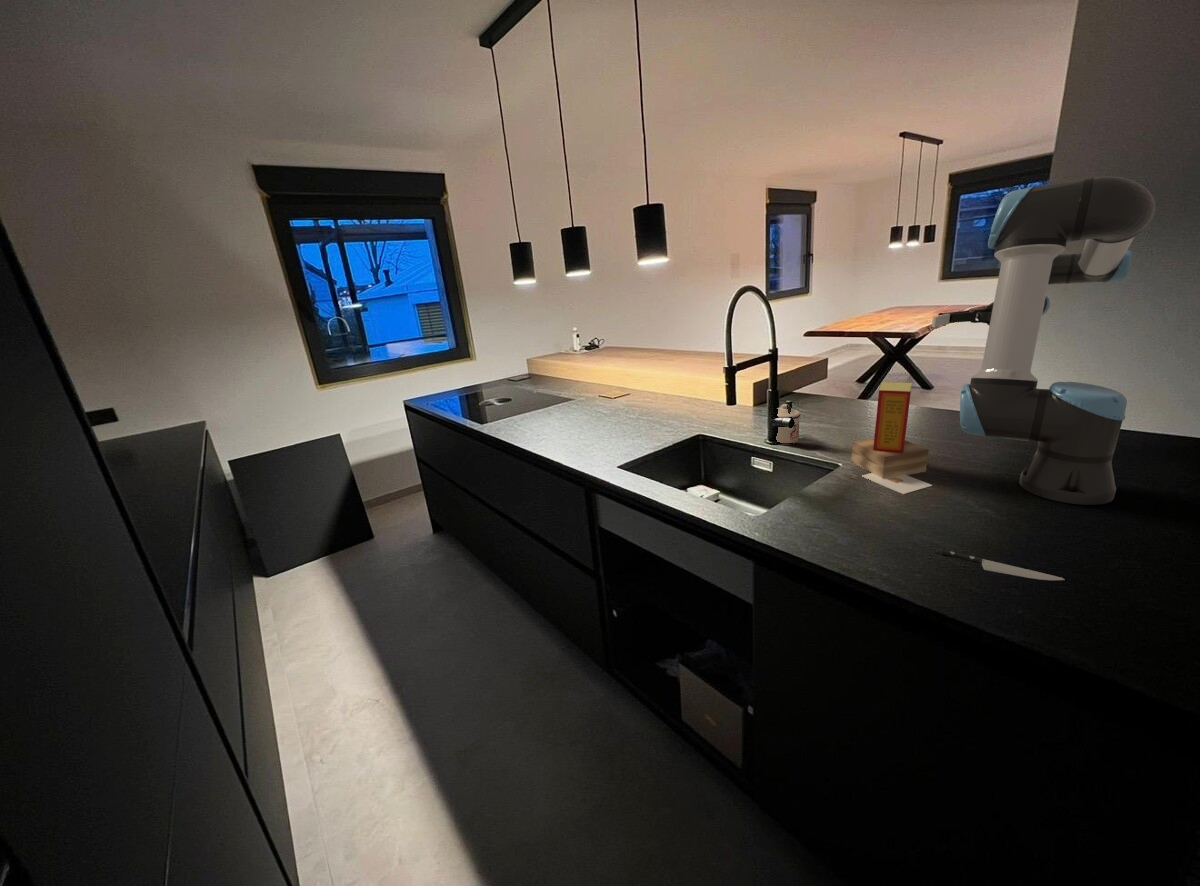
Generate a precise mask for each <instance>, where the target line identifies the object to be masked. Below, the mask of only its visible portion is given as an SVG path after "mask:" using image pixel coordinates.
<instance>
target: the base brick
mask: <svg viewBox="0 0 1200 886" xmlns="http://www.w3.org/2000/svg"><path fill="white" fill-rule="evenodd" d="M873 447H874V437H873V438H868V439H862V440H855V441H852V445H851V459H850V463H851V462H853V463H854V465H855V464H856V465H855V466H857V465H858V466H857V467H859V466H860V467H859V468H861V467H862V468H861V469H862V470H864V469H865V470H864V471H866V470H867V471H866V472H868V471H869V472H868V473H870V472H871V473H873V474H875V475H877V476H879V477H881V478H888V477H894V476H900V475H907V476H911V475H915V474H920V473H921V472H922V473H926V472H927V466H928V458H929V453H930V452H929V451H930V450H929V449H927V448H925V447H923V446H920V445H918V444H915V443H913V442H911V441H908V440H906V439H905V444H904V452H903V453H896V452H886V451H876V450H873ZM853 463H852V464H853ZM922 473H921V474H922Z"/></svg>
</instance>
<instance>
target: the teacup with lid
mask: <svg viewBox="0 0 1200 886" xmlns="http://www.w3.org/2000/svg"><path fill="white" fill-rule="evenodd" d="M787 405H788V404H786V403H784V404H781V405H780V407H777V409H778V414H777V416H778V417H779V418H789V417H792V418H793V420H794V422H795V424H794V426H793V427H792V428H789V427H778V433H777V436H776V440H777V442H780V443H792V442H796V441H797V442H799V438H800V436H799V435H800V417H801V412H800V411H799V410H796V409H793V408H791V407H790V408H791V412H790V414H789V413H788V409H787ZM797 442H796V443H797Z"/></svg>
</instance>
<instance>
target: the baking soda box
mask: <svg viewBox="0 0 1200 886" xmlns="http://www.w3.org/2000/svg"><path fill="white" fill-rule="evenodd" d="M912 386H913V382H910V381H909V382H903V381H900V382H899V381H881V384H880V387H879V389H878V395H877V408H876V417H875V418H876V419H875V428H874V437H873V438H874V447H873V450H876V451H886V452H896V453H903V452H904V444H905V440H906V435H907V426H908V417H909V410H910V402H911V395H912Z"/></svg>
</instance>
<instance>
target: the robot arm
mask: <svg viewBox="0 0 1200 886" xmlns="http://www.w3.org/2000/svg"><path fill="white" fill-rule="evenodd" d="M998 205H999V206H998V208H997V211H996V212H995V215H994V216H995V217H994V219H993V222H992V225H991V229H990V234H989V236H988V237H989V238H988V242H987V247H988V248H989V249H991V250H994V256H993V257H995V259H996V260H998V262H1000V268H999V273H998V278H997V285H996V289H995V295H994V300H993V302H991V303H990V304H988V305H987V306H986V307H985V308H981V309H968V310H967V309H966V310H959V311H949V312H939V313H938V314H937V315H936V316H933V317H932V321H931V328H938V327H941V326H943V327H946V325H949V324H951V323H952V324H954V323H966V322H968V323H969V322H970V323H971V324H975V323H976V324H980V323H982V324H986V325H987V326H988V331H987V337H986V341H985V347H984V353H983V358H982V364H981V368H980V370H979V371H978V372H977V373H975V374H974V375H972V376H971V377H970V383H966V384H963V385H962V386H961V388H960V398H959V419H960V420H959V422H960V423H959V424H960V428H961V430H962V432H964V433H966V434H968V435H974V436H980V437H983V438H987V437H989V438H997V439H1007V440H1016V441H1025V442H1032V443H1033V442H1035V443H1037V448H1036V452H1035V453H1034V455H1033V457H1032V458H1031V459H1030V460H1029V462H1028V463H1027V465H1026V466H1025V468H1024V469H1023V470H1022V471H1021V473H1020V475H1019V476H1020V477H1019V481H1018V484H1019V485H1020V487H1021V488H1022V489H1024V490H1025V491H1026V492H1029V493H1031V494H1033V495H1035V496H1037V497H1041V498H1044V499H1047V500H1051V501H1056V502H1059V503H1066V504H1072V505H1081V506H1082V505H1083V506H1084V505H1087V506H1092V505H1093V506H1095V505H1098V506H1099V505H1104V504H1108V503H1111V502H1112V501H1113V500H1114V498H1115V495H1116V491H1117V485H1116V483H1115V475H1114V472H1113V464H1112V461H1113V457H1114V454H1115V452H1116V451H1115V450H1116V447H1117V442H1118V439H1119V436H1120V435H1119V434H1120V432H1121V427H1122V424H1123V421H1125V419H1126V415H1125V414H1126V408H1127V405H1128V401H1127V398H1126V396H1125V395H1124V394H1122V393H1121V392H1119V391H1117V390H1116V389H1115V390H1114V389H1112V388H1109V387H1104V386H1100V385H1096V384H1091V383H1085V382H1084V383H1083V382H1077V381H1056V382H1053V383H1052V384H1051V385H1050V386H1049V389H1048V388H1037V386H1038V383H1039V380H1038V378H1037V377H1036V376H1034V375H1033V374H1032V372H1031V370H1032V364H1033V360H1034V357H1035V350H1036V345H1037V341H1038V336H1039V331H1040V326H1041V323H1042V321H1041V320H1042V316H1044V315H1045V314H1046V313H1047V312H1048V310H1049V309H1050V307H1051V306H1050V305H1051V302H1050V300H1049V298H1048V296H1047V291H1048V289H1049V288H1048V287H1049V285H1061V284H1062V285H1063V284H1065V285H1066V284H1067V285H1068V284H1069V285H1070V284H1087V283H1088V284H1089V283H1108V282H1118V281H1119V282H1120V281H1122V280H1125V278H1126V277H1127V276H1128V273H1129V272H1130V271H1129V270H1130V267H1131V263H1132V257H1133V253H1132V250H1130V249H1129V248H1130V246H1131V245H1132V242H1133V240H1134V239H1135V237H1137V236H1138V235H1139V234H1141V233H1143V231H1145V229H1146V228H1147V227H1148V226H1149V225H1150V223H1151V221H1152V220H1153V218H1154V216H1155V212H1156V201H1155V199H1154V196H1153V195H1152V193H1151V192H1150V191H1149V190H1148V189H1147V188H1146V187H1145V186H1143V185H1142V184H1141V183H1139V182H1136V181H1134V180H1131V179H1128V178H1125V177H1120V176H1104V175H1102V176H1096V177H1092V178H1086V179H1078V180H1071V181H1064V182H1063V181H1062V182H1059V183H1058V182H1057V183H1052V184H1051V183H1049V184H1042V185H1036V186H1035V185H1033V186H1030V187H1026V188H1025V187H1024V188H1022V189H1016V190H1012V191H1010V192H1008V193H1007V194H1006V195H1004V197H1003V198H1002V199H1001V201H1000V203H999V204H998ZM1075 241H1078V242H1079V241H1085V244H1084V247H1083V249H1082V252H1081V253H1080V252H1079V253H1068V254H1067V253H1065V254H1062V253H1064V252H1065V250H1066V247H1067V242H1075Z"/></svg>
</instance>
